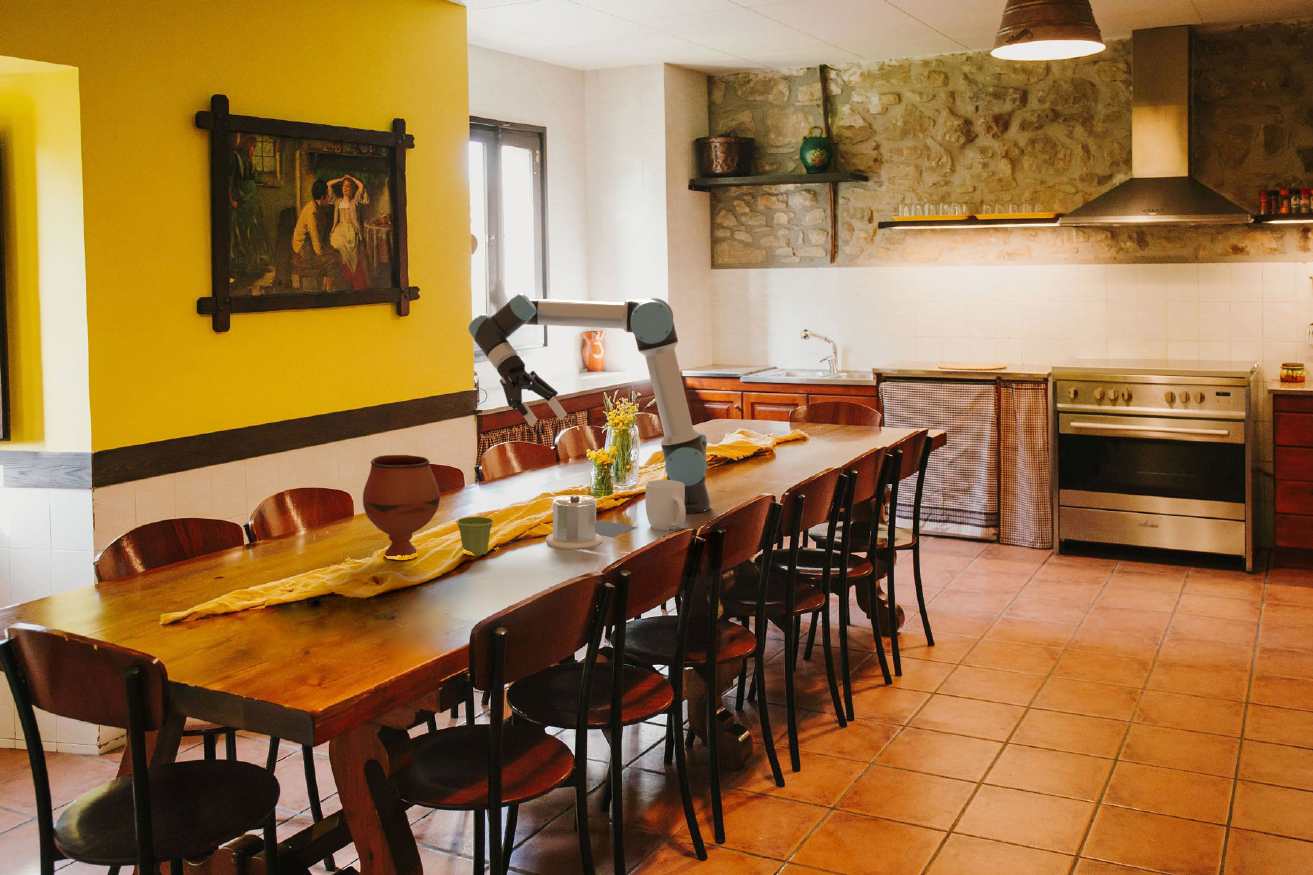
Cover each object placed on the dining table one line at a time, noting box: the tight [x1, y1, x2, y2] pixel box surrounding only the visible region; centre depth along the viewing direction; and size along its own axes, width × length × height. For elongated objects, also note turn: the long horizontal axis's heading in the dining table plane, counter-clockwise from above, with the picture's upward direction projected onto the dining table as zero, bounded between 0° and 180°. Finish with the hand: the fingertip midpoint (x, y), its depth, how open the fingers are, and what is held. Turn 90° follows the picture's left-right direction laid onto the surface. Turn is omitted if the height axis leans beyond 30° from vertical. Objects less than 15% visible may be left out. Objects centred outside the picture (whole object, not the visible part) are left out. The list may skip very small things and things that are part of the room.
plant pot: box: [456, 516, 495, 557], centre depth 296 cm, size 9×9×9 cm
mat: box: [596, 520, 638, 538], centre depth 322 cm, size 13×13×1 cm
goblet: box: [362, 454, 441, 556], centre depth 290 cm, size 19×19×25 cm
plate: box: [545, 532, 604, 551], centre depth 309 cm, size 15×15×5 cm
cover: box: [552, 495, 597, 543], centre depth 308 cm, size 11×11×11 cm
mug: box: [645, 479, 687, 531], centre depth 323 cm, size 15×11×13 cm
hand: (549, 420), depth 323 cm, fingers open, 13 cm apart
